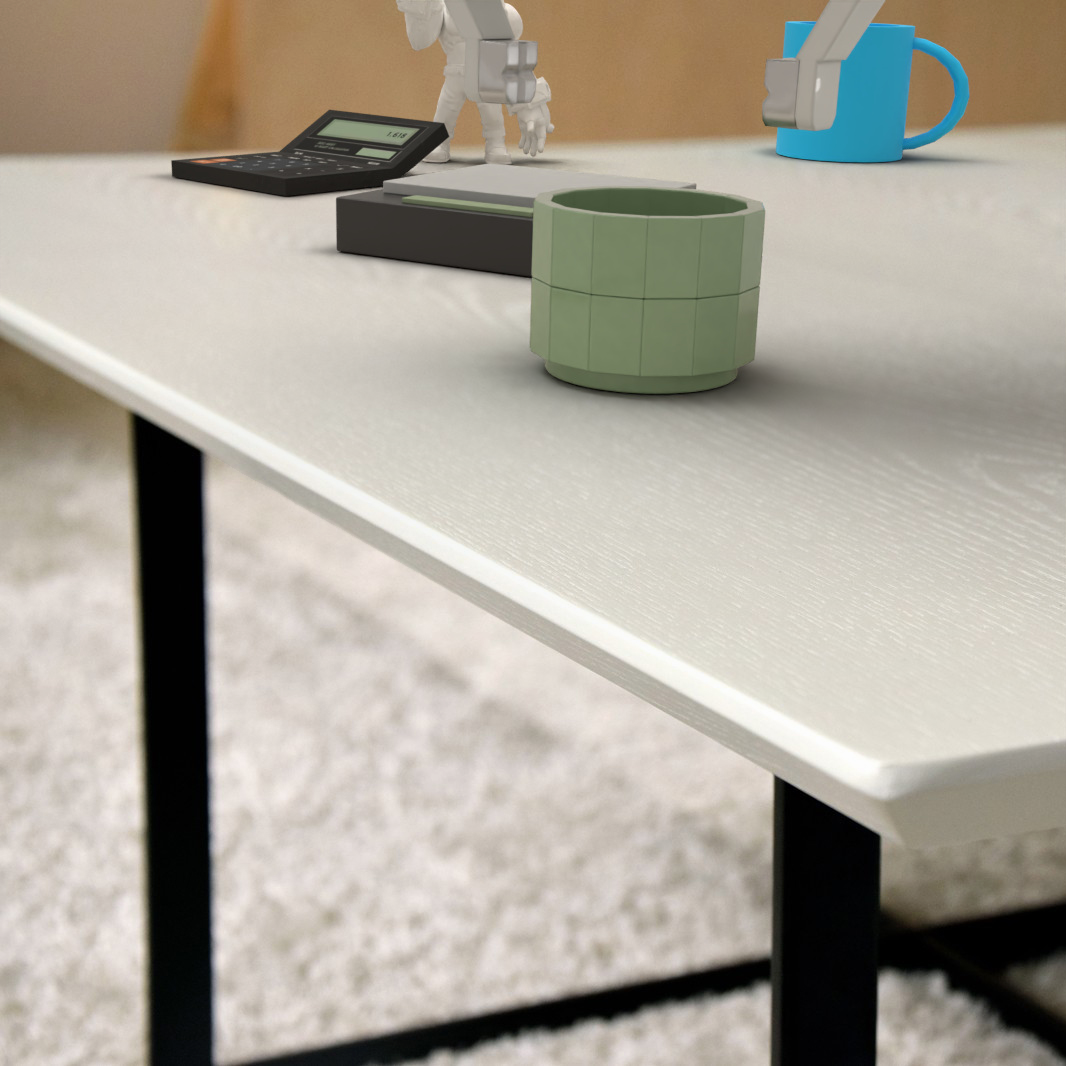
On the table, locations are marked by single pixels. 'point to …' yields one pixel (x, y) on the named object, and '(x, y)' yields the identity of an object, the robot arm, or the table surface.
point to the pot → (645, 286)
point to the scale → (461, 215)
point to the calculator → (325, 156)
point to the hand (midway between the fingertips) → (641, 115)
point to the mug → (872, 98)
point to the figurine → (423, 28)
